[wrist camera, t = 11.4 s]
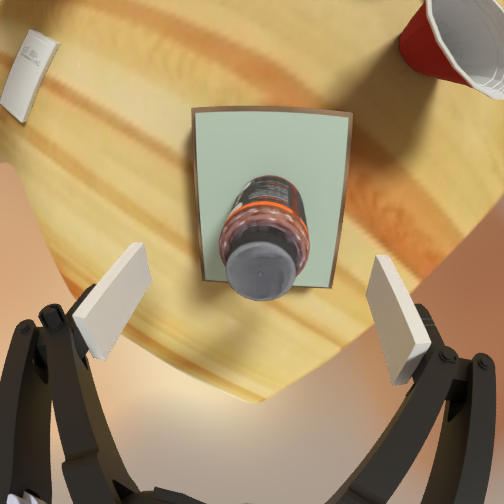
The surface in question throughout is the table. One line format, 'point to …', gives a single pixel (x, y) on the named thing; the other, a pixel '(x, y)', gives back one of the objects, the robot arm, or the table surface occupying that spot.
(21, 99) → the external hard drive
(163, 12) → the table surface
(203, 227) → the walnut stand
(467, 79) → the plastic cup
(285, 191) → the supplement bottle
